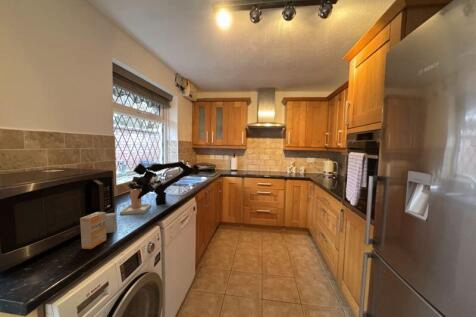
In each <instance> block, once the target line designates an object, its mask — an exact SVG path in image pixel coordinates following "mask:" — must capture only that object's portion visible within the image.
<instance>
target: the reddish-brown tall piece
mask: <svg viewBox="0 0 476 317" xmlns="http://www.w3.org/2000/svg"><path fill="white" fill-rule="evenodd" d="M140 192H141V189H140V188H139V189H130V195H131V198H130V205H131V208H132V209H139V208H141V207H142V204H143V203H142V197H141V198H140V199H138V196H139V194H140Z"/></svg>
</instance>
